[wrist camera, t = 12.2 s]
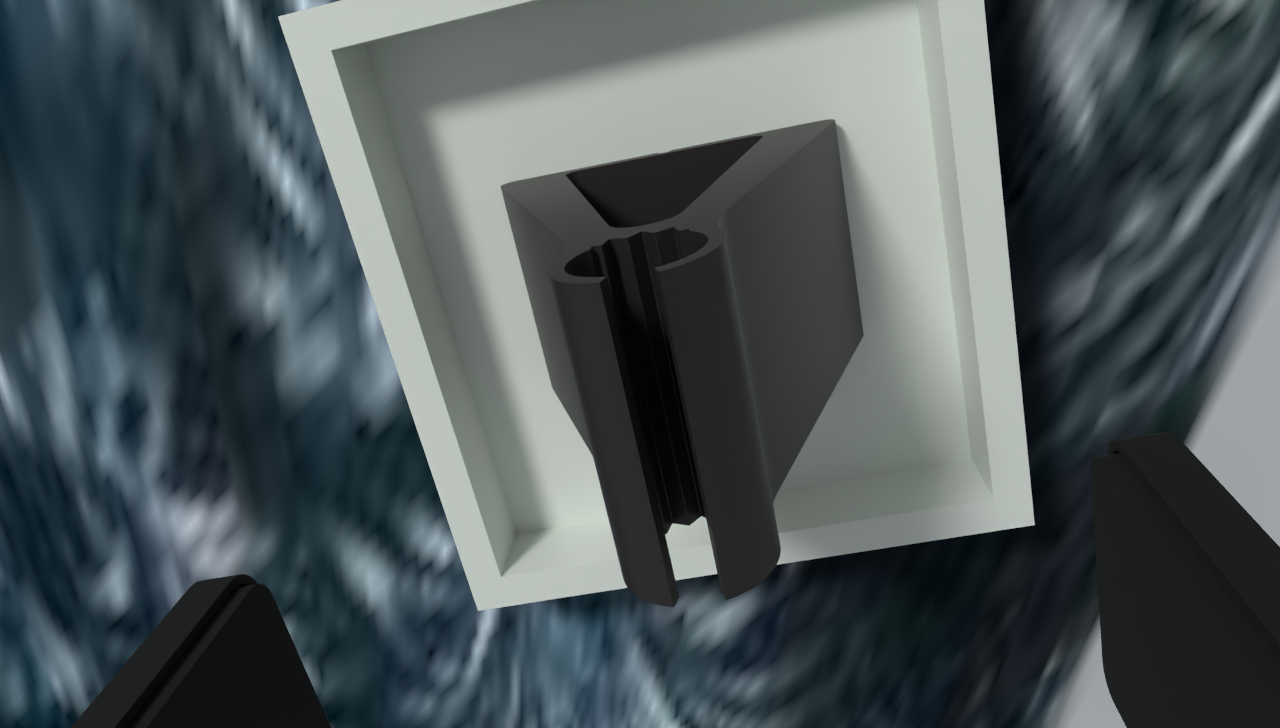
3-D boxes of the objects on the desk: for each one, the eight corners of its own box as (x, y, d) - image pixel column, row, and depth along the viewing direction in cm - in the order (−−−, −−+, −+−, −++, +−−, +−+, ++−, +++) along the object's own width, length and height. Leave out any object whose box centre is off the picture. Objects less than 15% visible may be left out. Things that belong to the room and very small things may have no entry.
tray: (937, -143, 23) (968, -159, 21) (1003, 473, 29) (1034, 524, 26) (325, 13, 26) (277, 16, 23) (498, 555, 32) (478, 610, 29)
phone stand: (834, 117, 25) (932, 222, 14) (861, 332, 27) (965, 571, 16) (503, 181, 26) (351, 324, 15) (552, 381, 28) (451, 636, 17)
